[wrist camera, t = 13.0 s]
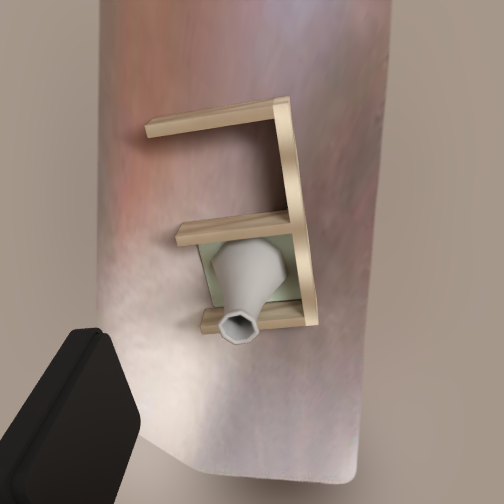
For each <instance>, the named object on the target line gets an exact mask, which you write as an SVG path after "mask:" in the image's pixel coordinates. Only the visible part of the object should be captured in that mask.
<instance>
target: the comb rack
mask: <svg viewBox="0 0 504 504" xmlns="http://www.w3.org/2000/svg"><path fill="white" fill-rule="evenodd" d="M274 118H275V124H276V131H277V138H278V144H279V151H280V157H281V164H282V171H283V177H284V184H285V191H286V197H287V204H288V210H281V211H273V212H265V213H257V214H249V215H241V216H233V217H225V218H217V219H209V220H201V221H193V222H185V223H182V225H181V227H180V228H179V230H178V232H177V234H176V236H175V238H176V242H177V246H178V247H179V246H188V245H196V244H198V247H199V251H200V255H201V259H202V263H203V267H204V271H205V275H206V279H207V283H208V287H209V291H210V295H211V299H212V302H213V306H214V307H217V306H224V298H223V294H222V291H221V288H220V285H219V281H218V279H217V276H216V273H215V270H214V268H213V265H212V262H211V260H212V259H213V258H214V257H215V255H216V254H217V253H218V252H219V250H220V249H221V248H222V247H223V245H224V244H225V243H226V242H227V241H231V240H239V239H248V238H257V237H262V238H264V239H265V240H267V241H268V242H269V243H271V244H272V245H274V246H275V247H277V248H278V249H280V250H281V253H282V256H283V259H284V263H285V266H286V269H287V272H288V277H287V278H286V279H285V280H284V281H283V282H282V284H281V285H280V286H279V287H278V288H277V289H276V290H275V291H274V293H273V294H272V295H271V296H270V297H269V299H268V300H267V301H266V302H271V301H281V300H292V299H302V300H296V301H286V302H275V303H265V304H264V305H263V307H262V309H261V311H260V313H259V315H258V317H257V326H258V328H259V330H261V329H273V328H285V327H297V326H309V325H318V307H317V299H316V292H315V284H314V277H313V269H312V262H311V254H310V247H309V240H308V232H307V225H306V217H305V210H304V202H303V195H302V187H301V180H300V172H299V165H298V158H297V150H296V143H295V135H294V128H293V120H292V113H291V105H290V98H289V96H283V97H277V98H271V99H265V100H258V101H252V102H246V103H240V104H234V105H228V106H222V107H216V108H209V109H203V110H197V111H191V112H185V113H179V114H173V115H167V116H160V117H155V118H153V119H152V120H151V121H150V122H149V123H147V124H146V125H145V130H146V133H147V137H148V138H152V137H159V136H165V135H172V134H178V133H184V132H191V131H197V130H204V129H210V128H216V127H223V126H229V125H236V124H242V123H249V122H255V121H261V120H268V119H274ZM223 315H224V307H221V308H210V309H205V311H204V315H203V318H202V321H201V324H200V329H201V332H202V334H214V333H220V331H219V328H218V326H217V323H218V322H219V321H220V320H221V319H222V317H223Z"/></svg>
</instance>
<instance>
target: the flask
mask: <svg viewBox="0 0 504 504" xmlns="http://www.w3.org/2000/svg"><path fill="white" fill-rule="evenodd" d="M211 262H212V265H213V268H214V270H215V273H216V276H217V279H218V281H219V285H220V288H221V291H222V294H223V298H224V315H223V317H222V319H221V320H220V321H219V322H218V323H217V326H218V328H219V331H220V333H221V335H222V338H224V339H226V340H227V341H229V342H230V343H232V344H234V345H239V344H245V343H250V342H251V341H252V340H253V339H254V338H255V337H256V336H257V334H258V333H259V328H258V326H257V317H258V315H259V313H260V311H261V309H262V307H263V305H264V304H265V302H266V301H267V300H268V299H269V297H270V296H271V295H272V294H273V293H274V291H275V290H276V289H277V288H278V287H279V286H280V285H281V284H282V282H283V281H284V280H285V279H286V278H287V277H288V272H287V269H286V266H285V263H284V259H283V256H282V253H281V250H280V249H278V248H277V247H275V246H274V245H272V244H271V243H269V242H268V241H267V240H265V239H264V238H262V237H257V238H248V239H239V240H231V241H227V242H226V243H225V244H224V245H223V247H222V248H221V249H220V250H219V252H218V253H217V254H216V255H215V257H214V258H213V259H212V260H211Z"/></svg>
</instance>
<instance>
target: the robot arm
mask: <svg viewBox="0 0 504 504" xmlns="http://www.w3.org/2000/svg"><path fill="white" fill-rule="evenodd" d="M140 424H141V420H140V414H139V411H138V409H137V406H136V403H135V401H134V398H133V396H132V393H131V390H130V388H129V385H128V383H127V380H126V377H125V375H124V372H123V369H122V367H121V364H120V362H119V359H118V356H117V354H116V351H115V349H114V346H113V343H112V341H111V338H110V336H109V335H108V334H106V333H103V332H102V330H101V329H99V328H85V329H75V330H72V331H71V332H70V333H69V335H68V337H67V338H66V340H65V341H64V343H63V344H62V346H61V347H60V349H59V351H58V352H57V354H56V355H55V357H54V358H53V360H52V361H51V363H50V365H49V366H48V368H47V369H46V371H45V372H44V374H43V375H42V377H41V378H40V380H39V381H38V383H37V385H36V386H35V388H34V389H33V391H32V392H31V394H30V395H29V397H28V398H27V400H26V402H25V403H24V405H23V406H22V408H21V409H20V411H19V412H18V414H17V416H16V417H15V419H14V420H13V422H12V423H11V425H10V426H9V428H8V429H7V431H6V432H5V434H4V435H3V437H2V439H1V440H0V504H114V502H115V499H116V496H117V493H118V490H119V487H120V484H121V482H122V479H123V476H124V473H125V470H126V468H127V465H128V462H129V459H130V456H131V453H132V450H133V448H134V445H135V442H136V439H137V436H138V433H139V430H140Z"/></svg>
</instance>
